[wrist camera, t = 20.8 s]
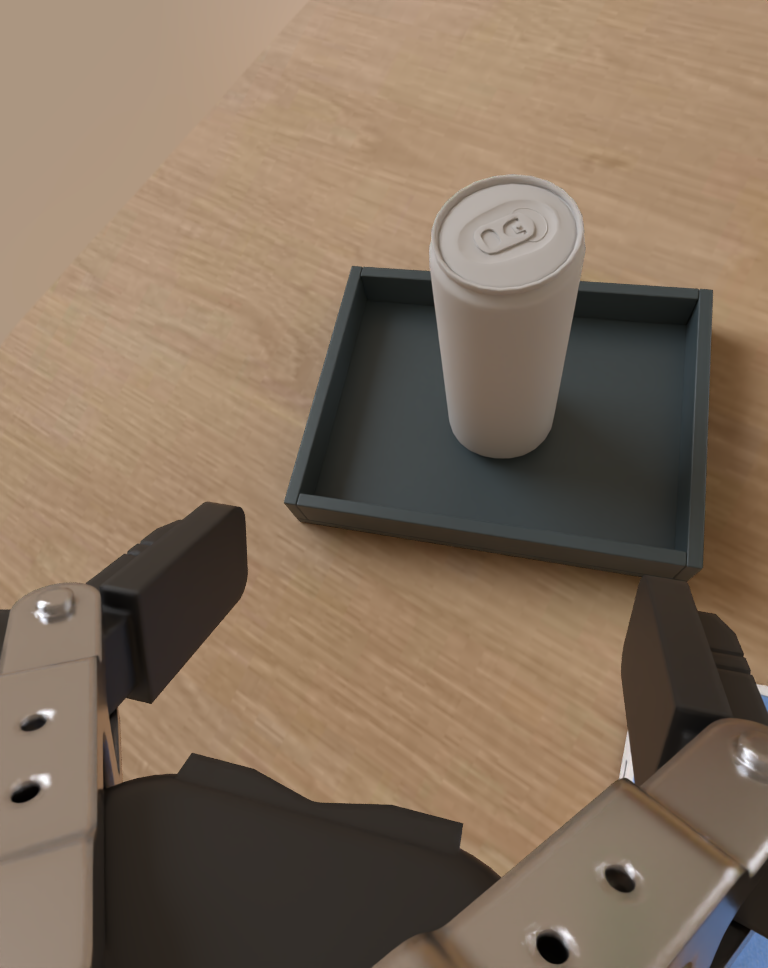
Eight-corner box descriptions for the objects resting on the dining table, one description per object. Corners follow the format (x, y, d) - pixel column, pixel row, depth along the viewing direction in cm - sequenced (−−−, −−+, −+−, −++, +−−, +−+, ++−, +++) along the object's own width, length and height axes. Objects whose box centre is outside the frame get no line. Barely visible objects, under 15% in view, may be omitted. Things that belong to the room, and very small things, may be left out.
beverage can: (571, 440, 29) (620, 254, 18) (474, 481, 29) (464, 318, 18) (524, 361, 31) (543, 149, 20) (434, 398, 31) (403, 207, 20)
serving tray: (298, 521, 30) (283, 503, 28) (360, 297, 35) (351, 265, 32) (684, 584, 26) (703, 568, 24) (697, 322, 31) (713, 289, 29)
